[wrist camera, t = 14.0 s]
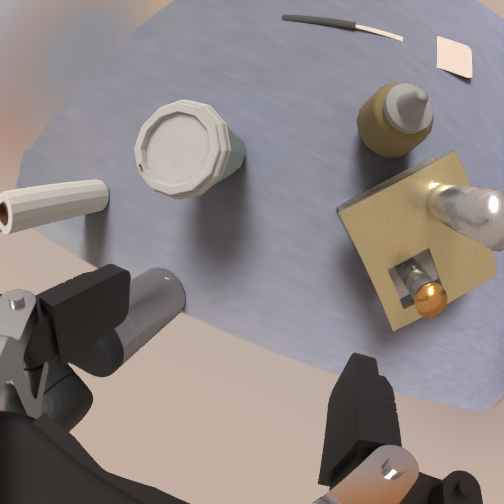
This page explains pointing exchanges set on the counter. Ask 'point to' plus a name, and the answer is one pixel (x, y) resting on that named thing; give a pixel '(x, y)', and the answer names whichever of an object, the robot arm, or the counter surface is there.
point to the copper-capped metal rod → (422, 288)
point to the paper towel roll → (50, 203)
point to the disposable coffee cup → (186, 149)
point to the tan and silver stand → (426, 231)
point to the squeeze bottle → (395, 119)
